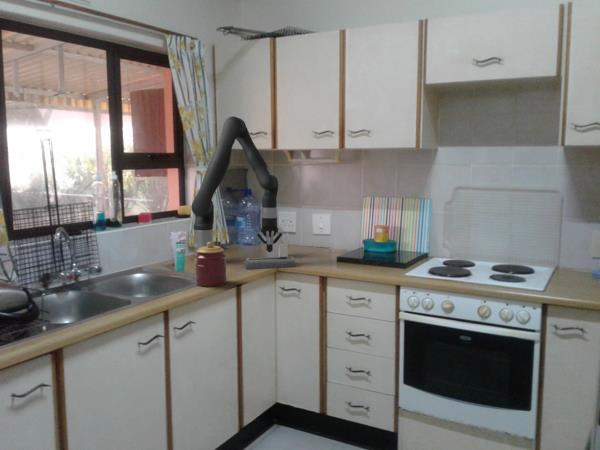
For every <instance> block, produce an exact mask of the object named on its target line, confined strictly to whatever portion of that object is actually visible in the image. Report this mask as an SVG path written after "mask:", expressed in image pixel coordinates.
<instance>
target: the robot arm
mask: <svg viewBox="0 0 600 450" xmlns="http://www.w3.org/2000/svg"><path fill="white" fill-rule="evenodd" d="M221 128H222V129H221V132H220V136H219V139H218V142H217V144H216V147H215V149H214V151H213V154H212V156H211V158H210V161H209V162H208V166H207V167H206V172H205V173H204V177H203V178H202V182H201V185H200V188H199V190H198V192H197V193H196V195H195V197H194V199H193V201H192V203H191V212H192V213H193V214H194V215H195V222H194V224H193V237H194V238H193V239H194V241H193V243H194V256H195V255H197V253H198V252H197V250H198V249H199V248H200V247H203V246H207V243H208V242H212V243H213V244H214V223H215V221H214V220H215V219H214V218H215V207H214V202H213V197H214V195H215V192H216V190H217V189H218V187H219V186H220V185H221V184H222V181H223V180H224V178H225V176H226V174H227V172H228V169H229V166H230V163H231V156H232V149H233V146H234V143H235V142H236V141H237V142H238V144H239V145H240V147H241V148H242V150H243V152H244V156H245V158H246V160H247V162H248V165H250V167H251V169H252V171H253V172H254V174H255V177H256V180H257V181H258V184H259V185H260V187H261V189H263V190H264V191H263V192H264V194H263V195H262V198H261V228H260V230H259V232H257V233H256V236H257V238H259V240H260V241H261V242H262V243H263V244H265V245H266V247H265V248H266V249H265V250H266V252H267V253H268V252H271V251H272V250H273V244H274V243H276V242H277V241H278V240H279V239H280V237H281V236H282V237H283V232H282V233H281V232H279V231H278V228H277V224H278V208H277V207H278V206H277V204H278V203H277V200H278V199H277V197H278V192H279V180H278V178H277V177H276V176H275V175H272V174H270V172H269V170H268V164H267V162H266V161H265V159H264V157H263V156H262V154H261V153H260V152H259V149H258V148H257V146H256V145H255V143H254V141H253V139H252V136H251V135H250V133H249V130H248V127H247V124H246V122H245V121H244V120H243V119H242V118H240V117H238V116H237V117H236V116H229V117H227V118H226V119H225V121H224V123H223V125H222V127H221ZM276 234H277V237H276V238H275V239H274V241H273V237H274V236H275V235H276ZM262 236H264V237H265V239H264V238H263V237H262ZM269 237H270V244H269ZM195 263H196V258H195V257H194V264H195Z"/></svg>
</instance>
